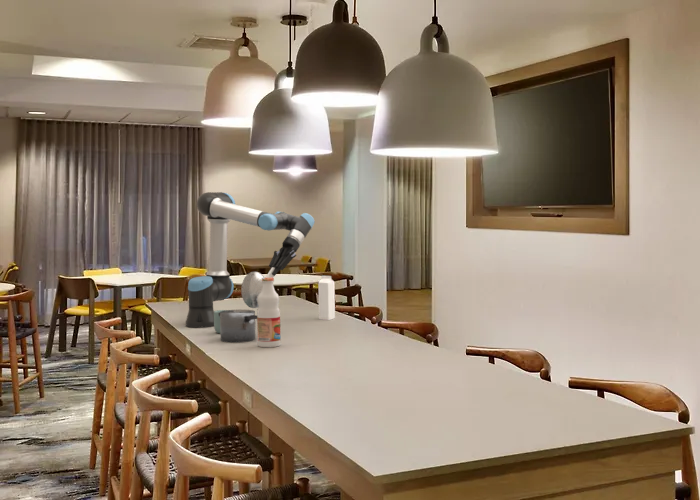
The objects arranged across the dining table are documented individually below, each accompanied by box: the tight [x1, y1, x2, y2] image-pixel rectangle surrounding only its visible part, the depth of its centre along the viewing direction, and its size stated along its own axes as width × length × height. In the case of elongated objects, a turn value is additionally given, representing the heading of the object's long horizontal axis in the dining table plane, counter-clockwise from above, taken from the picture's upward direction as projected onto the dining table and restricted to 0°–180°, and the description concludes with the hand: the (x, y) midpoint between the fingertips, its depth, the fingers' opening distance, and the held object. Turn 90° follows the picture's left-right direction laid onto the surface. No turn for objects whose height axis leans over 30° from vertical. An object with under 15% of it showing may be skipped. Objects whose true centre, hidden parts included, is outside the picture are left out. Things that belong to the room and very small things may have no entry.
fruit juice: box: [256, 277, 282, 348], centre depth 315 cm, size 9×9×28 cm
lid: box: [240, 271, 265, 309], centre depth 339 cm, size 16×16×3 cm
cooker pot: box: [219, 309, 257, 343], centre depth 332 cm, size 15×20×12 cm
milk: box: [317, 275, 336, 321], centre depth 388 cm, size 6×6×22 cm
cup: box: [213, 309, 227, 334], centre depth 350 cm, size 8×8×10 cm
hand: (267, 280), depth 344 cm, fingers closed
